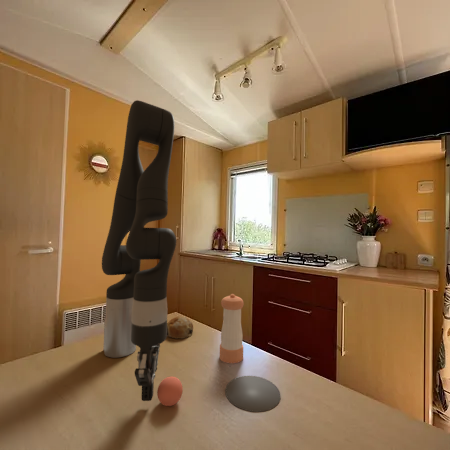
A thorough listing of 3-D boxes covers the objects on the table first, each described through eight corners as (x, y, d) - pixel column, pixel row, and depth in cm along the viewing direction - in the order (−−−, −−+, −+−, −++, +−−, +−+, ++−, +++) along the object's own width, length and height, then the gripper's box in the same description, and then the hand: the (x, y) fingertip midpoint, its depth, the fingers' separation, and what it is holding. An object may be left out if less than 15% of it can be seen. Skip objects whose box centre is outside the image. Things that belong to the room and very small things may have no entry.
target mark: (214, 395, 58) (214, 394, 58) (243, 371, 69) (243, 370, 69) (265, 420, 51) (265, 419, 51) (288, 388, 62) (288, 388, 62)
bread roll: (181, 351, 88) (191, 330, 87) (157, 335, 90) (166, 315, 89) (191, 339, 97) (200, 321, 97) (169, 325, 99) (177, 307, 99)
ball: (169, 369, 55) (190, 383, 56) (163, 373, 59) (182, 385, 59) (155, 396, 51) (177, 411, 52) (149, 398, 55) (170, 411, 56)
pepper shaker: (231, 349, 82) (232, 290, 82) (248, 357, 76) (249, 294, 77) (214, 356, 76) (215, 293, 77) (231, 366, 71) (233, 298, 72)
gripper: (161, 330, 49) (158, 421, 48) (171, 309, 62) (169, 380, 61) (121, 330, 48) (118, 422, 48) (140, 309, 61) (138, 380, 61)
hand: (147, 398), depth 55 cm, fingers closed
